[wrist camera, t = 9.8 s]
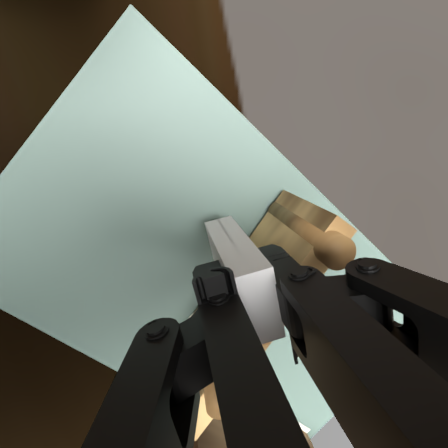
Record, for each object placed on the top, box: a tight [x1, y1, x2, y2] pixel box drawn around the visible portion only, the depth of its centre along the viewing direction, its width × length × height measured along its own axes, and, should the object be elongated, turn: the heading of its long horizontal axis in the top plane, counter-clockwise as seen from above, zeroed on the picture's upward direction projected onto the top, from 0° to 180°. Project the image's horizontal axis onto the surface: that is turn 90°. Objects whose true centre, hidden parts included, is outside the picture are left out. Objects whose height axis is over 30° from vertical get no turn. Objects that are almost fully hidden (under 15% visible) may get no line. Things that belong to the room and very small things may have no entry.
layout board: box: [0, 4, 403, 439], centre depth 20 cm, size 17×28×1 cm, turn 49°
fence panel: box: [194, 190, 357, 441], centre depth 16 cm, size 12×1×7 cm, turn 145°
